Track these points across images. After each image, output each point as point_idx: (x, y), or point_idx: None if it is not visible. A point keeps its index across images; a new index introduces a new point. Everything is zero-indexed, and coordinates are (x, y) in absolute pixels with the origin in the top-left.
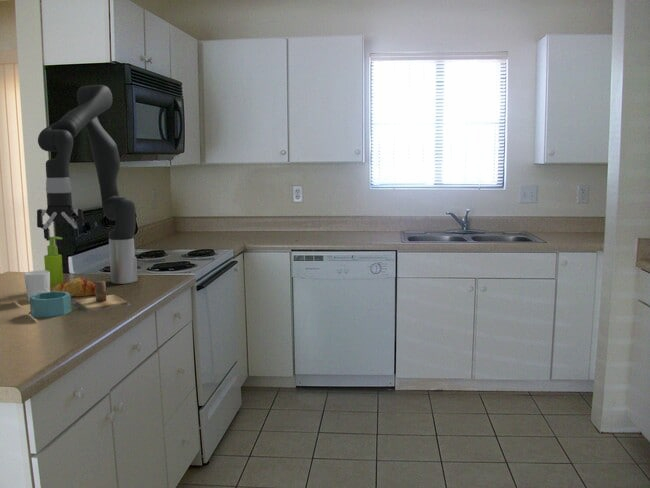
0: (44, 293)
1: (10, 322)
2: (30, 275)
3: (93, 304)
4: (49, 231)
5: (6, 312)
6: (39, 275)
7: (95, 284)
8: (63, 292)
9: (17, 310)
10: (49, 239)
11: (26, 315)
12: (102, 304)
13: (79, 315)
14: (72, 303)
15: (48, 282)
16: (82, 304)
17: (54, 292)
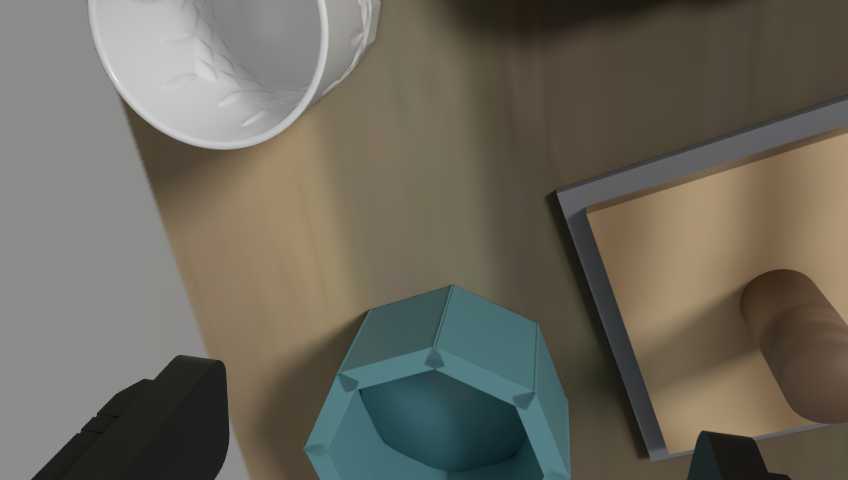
0: (381, 382)
1: (269, 473)
2: (178, 136)
3: (713, 384)
4: (137, 455)
5: (182, 267)
6: (258, 141)
7: (779, 386)
8: (514, 405)
9: (231, 239)
10: (222, 399)
11: (314, 370)
12: (776, 402)
13: (614, 468)
14: (564, 214)
15: (346, 58)
16: (638, 359)
17: (447, 372)
